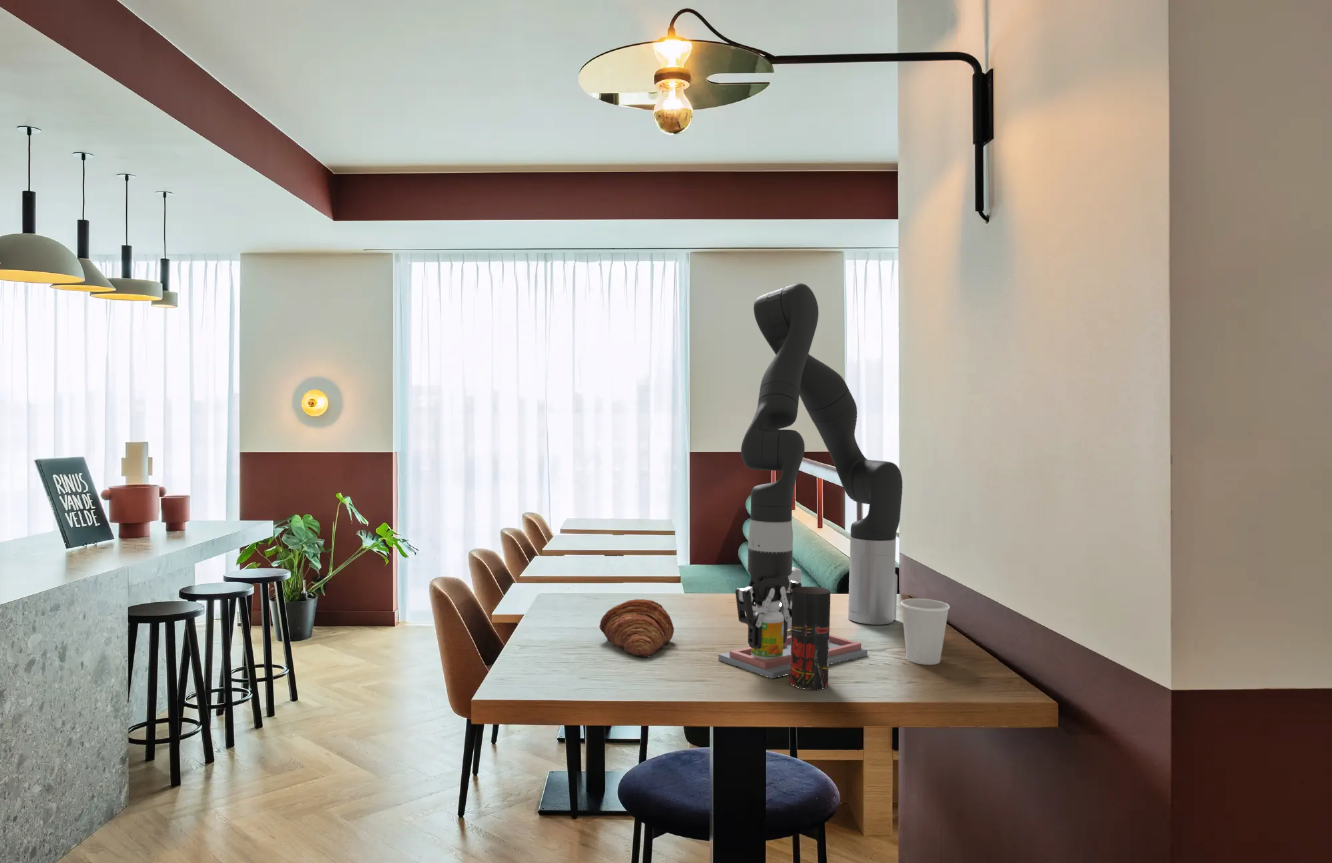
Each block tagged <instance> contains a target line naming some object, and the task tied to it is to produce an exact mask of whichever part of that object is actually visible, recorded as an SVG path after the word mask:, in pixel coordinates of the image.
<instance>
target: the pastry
mask: <svg viewBox="0 0 1332 863" xmlns="http://www.w3.org/2000/svg"><path fill="white" fill-rule="evenodd" d="M599 629H600V631H601V632H602V633H603V635H604V637H606V640H607V642H609V643H610V644H612V645H613V647H615V648H618V649H620V650H623V651H625V652H626V654H629V655H632V656H634V657H636V658H637V657H639V658H640V657H641V658H645V659H646V658H649V657H652V656H653V655H654V654H655V653H656V652H659V651H660V649H661V648H662V647H663V646H664V645H667V644H668V643H670V641H671V640H672V638H673V636H674V632H675V627H674V624H673V620H672V619H671V616H670V614H669V613H668V612H667V611H666V610H665V608H664V607H663V605H662V604H659V603H658V602H657V601H654V600H651V599H643V598H641V599H640V598H639V599H638V598H637V599H630V600H627V601H625V602H622V603H620V604H617V605H615V606H613V607H612V608H611V609H608V611H606V612H605V614H604V615H603V616H602V617H601V619H600V621H599Z"/></svg>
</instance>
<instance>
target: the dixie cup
mask: <svg viewBox="0 0 1332 863" xmlns="http://www.w3.org/2000/svg"><path fill="white" fill-rule="evenodd" d="M900 605H901V611H902V612H901V614H902V622H903V623H902V624H903V634H904V646H905V653H906V654H905V655H906V657H905V658H906V660H907V661H909V662H910V663H914V664H918V665H927V666H928V665H929V666H931V665H937V664H940V663H941V658H942V651H943V646H944V639H945V633H946V627H947V620H948V615H949V609H950V608H951V607H950V604H948V603H947V602H944V601H941V600H936V599H930V598H906V599H903V600H901V601H900Z"/></svg>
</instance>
